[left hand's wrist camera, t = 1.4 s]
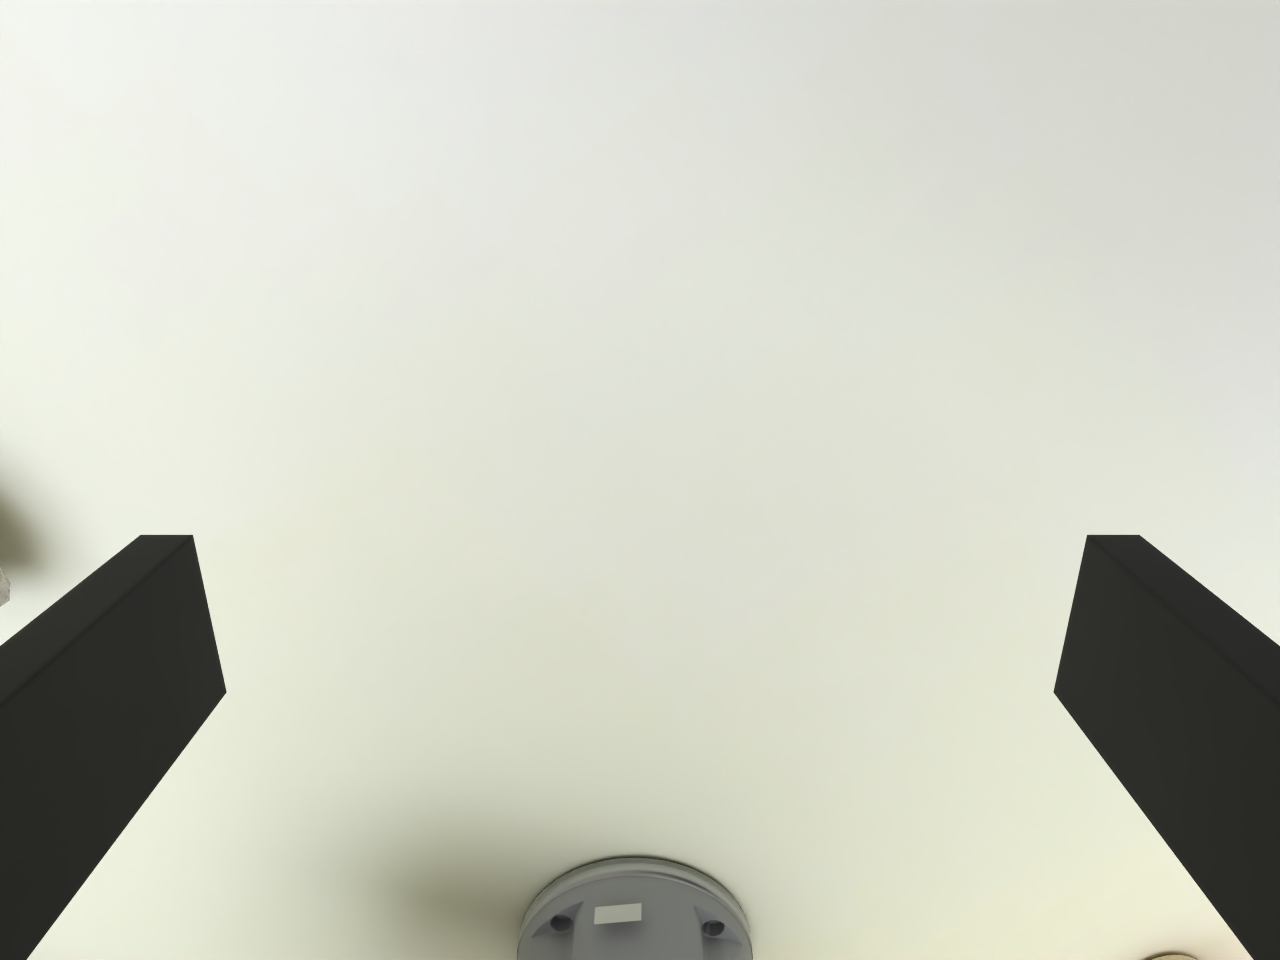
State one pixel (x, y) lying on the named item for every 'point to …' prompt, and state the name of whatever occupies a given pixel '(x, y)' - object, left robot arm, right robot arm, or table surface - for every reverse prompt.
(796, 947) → the table surface
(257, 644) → the table surface
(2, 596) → the anatomical model
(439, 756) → the table surface
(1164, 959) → the candle
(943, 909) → the table surface
